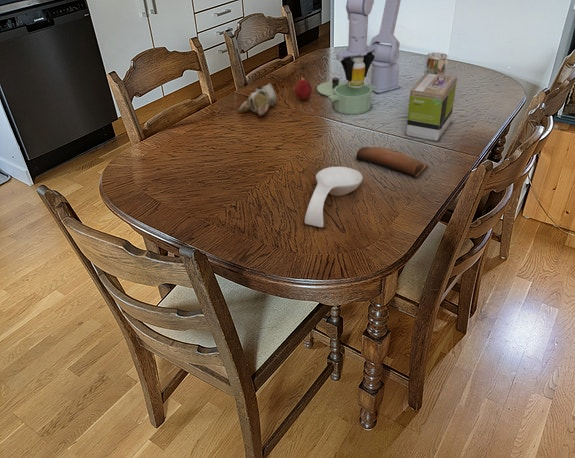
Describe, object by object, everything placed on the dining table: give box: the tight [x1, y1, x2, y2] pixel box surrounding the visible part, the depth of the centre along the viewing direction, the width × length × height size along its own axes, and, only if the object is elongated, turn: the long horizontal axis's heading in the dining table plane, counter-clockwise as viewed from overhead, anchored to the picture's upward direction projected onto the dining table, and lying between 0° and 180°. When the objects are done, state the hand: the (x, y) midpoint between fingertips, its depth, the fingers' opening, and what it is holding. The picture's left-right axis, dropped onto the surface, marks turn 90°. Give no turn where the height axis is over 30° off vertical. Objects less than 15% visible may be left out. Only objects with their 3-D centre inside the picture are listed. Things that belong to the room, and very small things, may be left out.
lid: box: [316, 76, 347, 97], centre depth 180 cm, size 13×13×5 cm
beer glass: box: [423, 52, 448, 76], centre depth 167 cm, size 7×7×15 cm
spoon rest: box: [304, 166, 364, 228], centre depth 122 cm, size 24×12×7 cm, turn 157°
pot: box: [327, 82, 376, 115], centre depth 168 cm, size 12×18×6 cm
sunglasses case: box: [355, 146, 427, 178], centre depth 137 cm, size 18×7×7 cm
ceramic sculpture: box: [235, 82, 277, 117], centre depth 167 cm, size 11×9×15 cm
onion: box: [294, 77, 313, 101], centre depth 173 cm, size 6×6×8 cm
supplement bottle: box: [347, 56, 365, 88], centre depth 162 cm, size 5×5×10 cm
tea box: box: [405, 73, 458, 142], centre depth 150 cm, size 15×10×15 cm
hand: (356, 78), depth 163 cm, fingers closed on supplement bottle, 5 cm apart
